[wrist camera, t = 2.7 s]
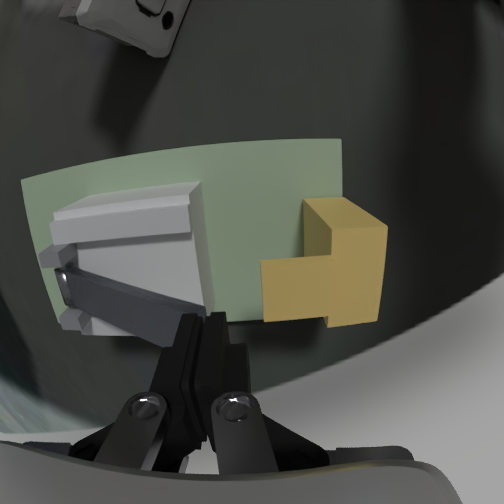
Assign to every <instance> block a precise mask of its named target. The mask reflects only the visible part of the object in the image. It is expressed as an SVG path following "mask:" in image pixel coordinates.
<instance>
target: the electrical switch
mask: <svg viewBox="0 0 504 504" xmlns="http://www.w3.org/2000/svg"><path fill="white" fill-rule="evenodd" d="M189 1H190V0H70V3H69V0H65V2H64V4H63V7H62V9H61V11H60V14H59V16H58V18H61V19H60V20H63V21H66V22H69V23H72V24H74V25H77V26H80V27H83V28H85V29H88V30H90V31H93V32H96V33H98V34H101V35H103V36H105V37H108V38H110V39H113V40H115V41H117V42H120V43H122V44H124V45H126V46H136V47H138V48H141V49H143V50H145V51H146V54H148V55H150V56H152V57H166V56H167V55H168V54H169V53H170V50H171V47H172V45H173V42H174V39H175V36H176V34H177V31H178V29H179V26H180V23H181V21H182V18H183V16H184V13H185V11H186V8H187V6H188V4H189ZM66 16H68V17H66ZM62 17H64V18H62Z"/></svg>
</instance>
